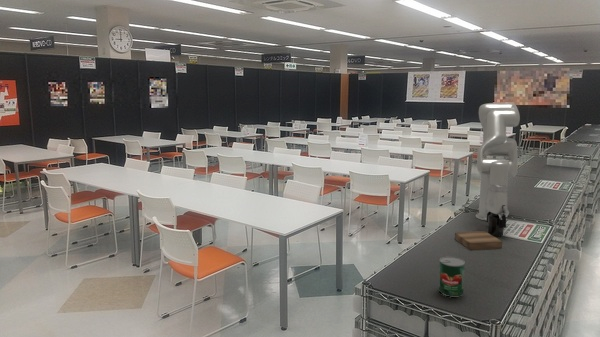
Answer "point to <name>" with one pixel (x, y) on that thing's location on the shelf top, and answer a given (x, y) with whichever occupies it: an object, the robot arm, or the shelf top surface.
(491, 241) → the wavy wooden tray
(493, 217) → the supplement bottle
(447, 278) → the canned tomato
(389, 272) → the shelf top surface
